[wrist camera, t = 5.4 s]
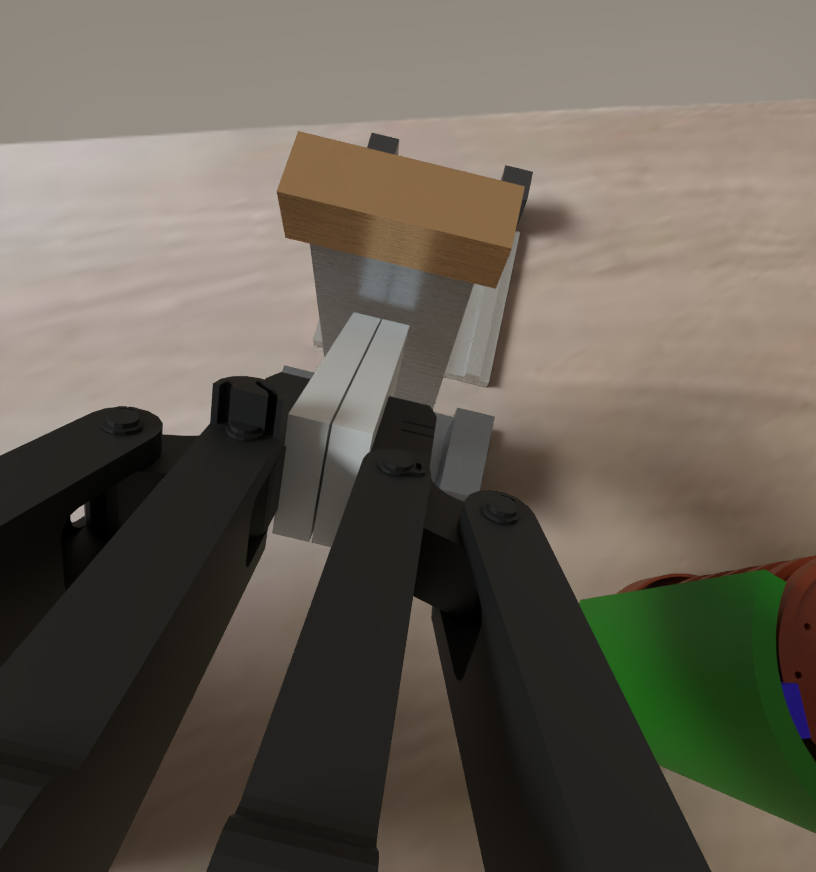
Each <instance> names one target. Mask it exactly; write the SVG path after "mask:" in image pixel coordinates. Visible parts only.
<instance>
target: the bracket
mask: <svg viewBox="0 0 816 872" xmlns="http://www.w3.org/2000/svg"><path fill="white" fill-rule="evenodd" d="M367 148H369V149H373V150H377V151H381V152H386V153H390V154H394V155H398V148H399V139H396V138H392V137H387V136H383V135H379V134H375V133H372V134H371V137H370V140H369V143H368V147H367ZM532 174H533V172H531V171H527V170H523V169H519V168H515V167H511V166H506V165H505V168H504V172H503V175H502V178H501V181H505V182H509V183H513V184H517V185H521V186H525V188H524V193H523V198H522V203H521V207H520V212H519V217H518V222H519V220H520V217H521V215H522V212H523V210H524V207H525V205H526V202H527V198H528V193H529V189H530V184H531V179H532ZM518 222H517V225H518ZM516 228H517V226H516ZM519 235H520V232H518V231H515V236H514V241H513V246H512V250H511V252H510V255H509V257H508V260H507V262H506V265H505V267H504V270H503V272H502V275H501V277H500V280H499V282H498V285H497V287H496V289H494V288H490V287H486V286H482V285H478V284H474V286H473V289H472V292H471V295H470V298H469V301H468V304H467V307H466V310H465V313H464V316H463V319H462V322H461V325H460V328H459V331H458V334H457V337H456V340H455V343H454V346H453V349H452V352H451V356H450V359H449V362H448V365H447V368H446V371H445V374H444V377H447V378H451V379H455V380H459V381H463V382H467V383H471V384H475V385H479V386H484V387H487V385H488V383H489V379H490V375H491V370H492V365H493V360H494V355H495V350H496V346H497V341H498V336H499V331H500V326H501V322H502V317H503V312H504V307H505V302H506V297H507V293H508V288H509V283H510V278H511V273H512V269H513V264H514V259H515V254H516V249H517V244H518V240H519ZM313 342H314V345H315V346H319V347H323V342H322V334H321V326H320V319H319V322H318V325H317V329H316V332H315V335H314V339H313ZM282 372H283V373H288V374H292V375H296V376H300V377H304V378H309V379H311V378H312V376H313V375H314V373H313V372H309V371H305V370H301V369H296V368H292V367H288V366H284V368H283V371H282ZM435 415H436V416H437V420H436V427H435V434H434V441H433V448H432V455H431V462H430V471H431V479H432V481H433V482H434V483H435V484H436V485H437V487H438V488H440V489H441V490H442V491H444V492H445V493H447V494H449V495H450V496H452V497H454V498H456V499H459V500H461V501H463V502H465V499H466V498H467V497H468V496H469V495H470V494H471V493H474V492H477V491H480V487H481V482H482V477H483V472H484V467H485V462H486V457H487V452H488V447H489V442H490V437H491V432H492V427H493V422H494V416H490V415H486V414H481V413H477V412H473V411H469V410H465V409H461V408H457V410H456V412H455V414H454V417H450V416H446V415H442V414H438V413H435Z"/></svg>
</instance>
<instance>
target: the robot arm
mask: <svg viewBox="0 0 816 872" xmlns="http://www.w3.org/2000/svg"><path fill="white" fill-rule="evenodd" d="M380 320H381V319H380V318H376V317H372V316H367V315H363V314H359V313H355V312H354V313H353V314H352V316H351V317H350V319H349V320H348V322H347V323H346V325H345V327H344V328H343V330H342V331H341V333H340V334H339V336H338V337H337V339H336V341H335V342H334V344H333V345H332V347H331V348H330V350H329V352H328V353H327V355H326V356H325V358H324V359H323V361H322V362H321V364H320V366H319V367H318V369H317V370H316V372H315V373H314V375H313V376H312V378H311V379H309V378H304V377H300V376H296V375H292V374H288V373H283V372H280V373H278V374H275V375H273V376H270V377H268V378H266V379H265V380H263V379H260V378H255V377H248V376H232V377H227V378H223V379H220V380H218V381H217V382H215V383H213V391H212V406H211V420H210V424H209V425H208V426H207V428H206V429H205V430H204V431H203V432H202V433H201V435H199V436H178V435H162V428H163V423H162V422H161V420H160V419H159V417H158V416H156V415H154V414H152V413H151V412H149V411H145V410H141V409H138V408H135V407H127V406H118V407H114V408H105V409H102V410H99V411H95V412H92V413H90V414H88V415H86V416H84V417H82V418H80V419H77V420H75V421H73V422H71V423H69V424H67V425H65V426H63V427H60V428H58V429H56V430H54V431H52V432H50V433H48V434H45V435H43V436H41V437H39V438H37V439H35V440H33V441H31V442H28V443H26V444H24V445H22V446H20V447H18V448H16V449H14V450H11V451H9V452H7V453H5V454H3V455H1V456H0V872H108V871H109V868H110V866H111V864H112V862H113V860H114V858H115V856H116V854H117V852H118V850H119V848H120V846H121V844H122V842H123V840H124V838H125V836H126V833H127V831H128V829H129V827H130V825H131V823H132V821H133V819H134V817H135V815H136V813H137V811H138V809H139V807H140V805H141V803H142V801H143V799H144V796H145V794H146V792H147V790H148V788H149V786H150V784H151V782H152V780H153V778H154V776H155V774H156V772H157V770H158V768H159V766H160V764H161V761H162V759H163V757H164V755H165V753H166V751H167V749H168V747H169V745H170V743H171V741H172V739H173V737H174V735H175V733H176V731H177V729H178V726H179V724H180V722H181V720H182V718H183V716H184V714H185V712H186V710H187V708H188V706H189V704H190V702H191V700H192V698H193V696H194V694H195V691H196V689H197V687H198V685H199V683H200V681H201V679H202V677H203V675H204V673H205V671H206V669H207V667H208V665H209V663H210V661H211V659H212V657H213V654H214V652H215V650H216V648H217V646H218V644H219V642H220V640H221V638H222V636H223V634H224V632H225V630H226V628H227V626H228V624H229V622H230V619H231V617H232V615H233V613H234V611H235V609H236V607H237V605H238V603H239V601H240V599H241V597H242V595H243V593H244V591H245V589H246V587H247V584H248V582H249V580H250V578H251V576H252V574H253V572H254V570H255V568H256V566H257V564H258V562H259V560H260V558H261V556H262V554H263V552H264V549H265V545H266V538H267V530H268V526H269V524H270V523H271V521H272V519H273V517H274V515H275V517H274V525H273V532H272V533H274V534H278V535H282V536H287V537H291V538H295V539H299V540H304V541H308V542H309V541H310V538H311V536H312V533H313V538H312V543H316V544H320V545H325V546H329V547H331V550H330V552H329V555H328V558H327V561H326V564H325V566H324V569H323V572H322V575H321V578H320V580H319V583H318V586H317V589H316V592H315V594H314V597H313V600H312V603H311V606H310V608H309V611H308V614H307V617H306V620H305V622H304V625H303V628H302V631H301V634H300V636H299V639H298V642H297V645H296V648H295V650H294V653H293V656H292V659H291V662H290V664H289V667H288V670H287V673H286V676H285V679H284V681H283V684H282V687H281V690H280V693H279V695H278V698H277V701H276V704H275V707H274V709H273V712H272V715H271V718H270V721H269V723H268V726H267V729H266V732H265V735H264V737H263V740H262V743H261V746H260V749H259V751H258V754H257V757H256V760H255V763H254V765H253V768H252V771H251V774H250V777H249V779H248V782H247V785H246V788H245V791H244V793H243V796H242V799H241V801H240V804H239V806H238V808H237V810H236V812H235V814H233V815H231V816H229V818H228V820H227V822H226V824H225V826H224V828H223V830H222V833H221V835H220V838H219V840H218V843H217V845H216V848H215V850H214V853H213V855H212V858H211V861H210V863H209V866H208V869H207V872H378V863H379V851H378V850H377V848H376V843H377V833H378V826H379V819H380V812H381V806H382V799H383V792H384V786H385V779H386V773H387V766H388V759H389V753H390V746H391V739H392V733H393V726H394V720H395V713H396V706H397V700H398V693H399V686H400V680H401V673H402V667H403V660H404V653H405V647H406V640H407V633H408V627H409V620H410V613H411V607H412V600H413V596H414V597H416V598H418V599H420V600H422V601H424V602H426V603H428V604H430V605H432V616H431V618H432V622H433V627H434V632H435V637H436V641H437V646H438V651H439V656H440V660H441V665H442V670H443V675H444V679H445V684H446V689H447V694H448V698H449V703H450V708H451V713H452V717H453V722H454V727H455V732H456V736H457V741H458V746H459V751H460V755H461V760H462V765H463V769H464V774H465V779H466V784H467V788H468V793H469V798H470V803H471V807H472V812H473V817H474V822H475V826H476V831H477V836H478V841H479V845H480V850H481V855H482V860H483V864H484V869H485V872H711V870H710V868H709V866H708V864H707V862H706V860H705V858H704V856H703V854H702V852H701V850H700V848H699V846H698V844H697V842H696V840H695V838H694V836H693V834H692V832H691V830H690V828H689V826H688V824H687V822H686V820H685V817H684V815H683V813H682V811H681V809H680V807H679V805H678V803H677V801H676V799H675V797H674V795H673V793H672V791H671V789H670V787H669V785H668V783H667V781H666V779H665V777H664V775H663V773H662V771H661V769H660V767H659V765H658V763H657V761H656V759H655V757H654V755H653V753H652V751H651V749H650V747H649V745H648V743H647V741H646V739H645V737H644V735H643V733H642V731H641V728H640V726H639V724H638V722H637V720H636V718H635V716H634V714H633V712H632V710H631V708H630V706H629V704H628V702H627V700H626V698H625V696H624V694H623V692H622V690H621V688H620V686H619V684H618V682H617V680H616V678H615V676H614V674H613V672H612V670H611V668H610V666H609V664H608V662H607V660H606V658H605V656H604V654H603V652H602V650H601V648H600V646H599V644H598V642H597V639H596V637H595V635H594V633H593V631H592V629H591V627H590V625H589V623H588V621H587V619H586V617H585V615H584V613H583V611H582V609H581V607H580V605H579V603H578V601H577V599H576V597H575V595H574V593H573V591H572V589H571V587H570V585H569V583H568V581H567V579H566V577H565V575H564V573H563V571H562V569H561V567H560V565H559V563H558V561H557V559H556V557H555V555H554V553H553V550H552V548H551V546H550V544H549V542H548V540H547V538H546V536H545V534H544V532H543V530H542V528H541V526H540V524H539V522H538V520H537V518H536V516H535V514H534V513H533V512H532V511H531V509H530V508H529V507H528V506H527V505H525V504H524V503H523V502H521V501H520V500H519V499H517V498H515V497H513V496H510V495H509V494H506V493H503V492H496V491H477V492H474V493H471V494H470V495H469V496H468V497H467V498H466V499H465V502H463V501H461V500H459V499H456V498H454V497H452V496H450V495H449V494H447V493H445V492H444V491H442V490H441V489H440V488H438V487H437V485H436V484H435V483H434V482H433V481H432V479H431V471H430V462H431V455H432V448H433V441H434V434H435V427H436V420H437V416H436V415H435V413H434V411H433V410H432V408H431V407H430V406H429V405H425V404H421V403H417V402H412V401H408V400H404V399H400V398H396V397H394V394H395V390H396V385H397V381H398V376H399V371H400V367H401V362H402V358H403V353H404V349H405V344H406V340H407V335H408V331H409V325H405V324H401V323H397V322H393V321H388V320H384V319H382V321H381V324H380ZM379 325H380V326H379ZM82 505H84V508H85V516H84V517H82V518H81V519H79V520H77V521H75V522H73V523H72V522H71V520H70V515H71V514H72V513H73V512H74V511H75V510H76V509H78V508H79V507H80V506H82ZM313 531H314V532H313Z"/></svg>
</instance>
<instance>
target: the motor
mask: <svg viewBox="0 0 816 872" xmlns="http://www.w3.org/2000/svg"><path fill="white" fill-rule="evenodd" d="M579 605H580V607H581V609H582V611H583V613H584V615H585V617H586V619H587V621H588V623H589V625H590V627H591V629H592V631H593V633H594V635H595V637H596V639H597V642H598V644H599V646H600V648H601V650H602V652H603V654H604V656H605V658H606V660H607V662H608V664H609V666H610V668H611V670H612V672H613V674H614V676H615V678H616V680H617V682H618V684H619V686H620V688H621V690H622V692H623V694H624V696H625V698H626V700H627V702H628V704H629V706H630V708H631V710H632V712H633V714H634V716H635V718H636V720H637V722H638V724H639V726H640V728H641V731H642V733H643V735H644V737H645V739H646V741H647V743H648V745H649V747H650V749H651V751H652V753H653V755H654V757H655V759H656V761H657V763H658V765H660V766H662V767H664V768H667V769H669V770H671V771H673V772H676V773H678V774H680V775H683V776H685V777H687V778H690V779H692V780H694V781H696V782H699V783H701V784H703V785H706V786H708V787H710V788H713V789H715V790H717V791H720V792H722V793H724V794H726V795H729V796H731V797H733V798H736V799H738V800H740V801H743V802H745V803H747V804H749V805H752V806H754V807H756V808H759V809H761V810H763V811H766V812H768V813H770V814H773V815H775V816H777V817H779V818H782V819H784V820H786V821H789V822H791V823H793V824H796V825H798V826H800V827H802V828H805V829H807V830H809V831H812V832H814V833H816V556H810V557H805V558H799V559H795V560H791V561H783V562H777V563H771V564H766V565H762V566H755V567H748V568H743V569H738V570H733V571H726V572H720V573H716V574H710V575H704V576H695V575H690V574H669V575H663V576H658V577H653V578H649V579H644V580H640V581H637V582H635V583H632V584H630V585H628V586H627V587H625V588H624V589H622V590H621V591H619V592H618V593H617V594H614V595H608V596H602V597H596V598H590V599H584V600H581V601H580V603H579Z"/></svg>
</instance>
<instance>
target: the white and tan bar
mask: <svg viewBox="0 0 816 872" xmlns="http://www.w3.org/2000/svg"><path fill="white" fill-rule="evenodd" d="M524 188H525V186H521V185H517V184H513V183H509V182H505V181H500V180H496V179H492V178H488V177H484V176H480V175H476V174H472V173H468V172H464V171H459V170H455V169H451V168H447V167H443V166H439V165H435V164H431V163H427V162H422V161H418V160H414V159H410V158H406V157H402V156H398V155H394V154H390V153H386V152H381V151H377V150H373V149H369V148H365V147H361V146H357V145H353V144H349V143H345V142H340V141H336V140H332V139H328V138H324V137H320V136H316V135H312V134H308V133H303V132H299V131H298V133H297V136H296V139H295V142H294V145H293V147H292V150H291V153H290V156H289V159H288V161H287V164H286V167H285V170H284V173H283V175H282V178H281V181H280V184H279V187H278V189H277V195H278V201H279V206H280V211H281V217H282V222H283V227H284V233H285V238H289V239H293V240H297V241H301V242H305V243H309V244H310V248H311V256H312V264H313V272H314V279H315V287H316V295H317V303H318V311H319V318H320V326H321V334H322V342H323V350H324V357H325V356H326V355H327V353H328V352H329V350H330V348H331V347H332V345H333V344H334V342H335V341H336V339H337V337H338V336H339V334H340V333H341V331H342V330H343V328H344V327H345V325H346V323H347V322H348V320H349V319H350V317H351V316H352V314H353V313H354V312H355V313H359V314H363V315H367V316H372V317H376V318H380V319H381V320H380V324H381V321H382V319H384V320H388V321H393V322H397V323H401V324H405V325H409V331H408V335H407V340H406V344H405V349H404V353H403V358H402V362H401V367H400V371H399V376H398V381H397V385H396V390H395V394H394V397H396V398H400V399H404V400H408V401H412V402H417V403H421V404H425V405H429V406H430V407H431V408H432V410H433V407H434V404H435V401H436V398H437V395H438V392H439V389H440V386H441V383H442V380H443V377H444V374H445V371H446V368H447V365H448V362H449V359H450V356H451V352H452V349H453V346H454V343H455V340H456V337H457V334H458V331H459V328H460V325H461V322H462V319H463V316H464V313H465V310H466V307H467V304H468V301H469V298H470V295H471V292H472V289H473V286H474V284H478V285H482V286H486V287H490V288H494V289H496V287H497V285H498V282H499V280H500V277H501V275H502V272H503V270H504V267H505V265H506V262H507V260H508V257H509V255H510V252H511V250H512V246H513V241H514V236H515V231H516V226H517V222H518V217H519V212H520V207H521V203H522V198H523V193H524ZM379 326H380V325H379Z"/></svg>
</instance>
